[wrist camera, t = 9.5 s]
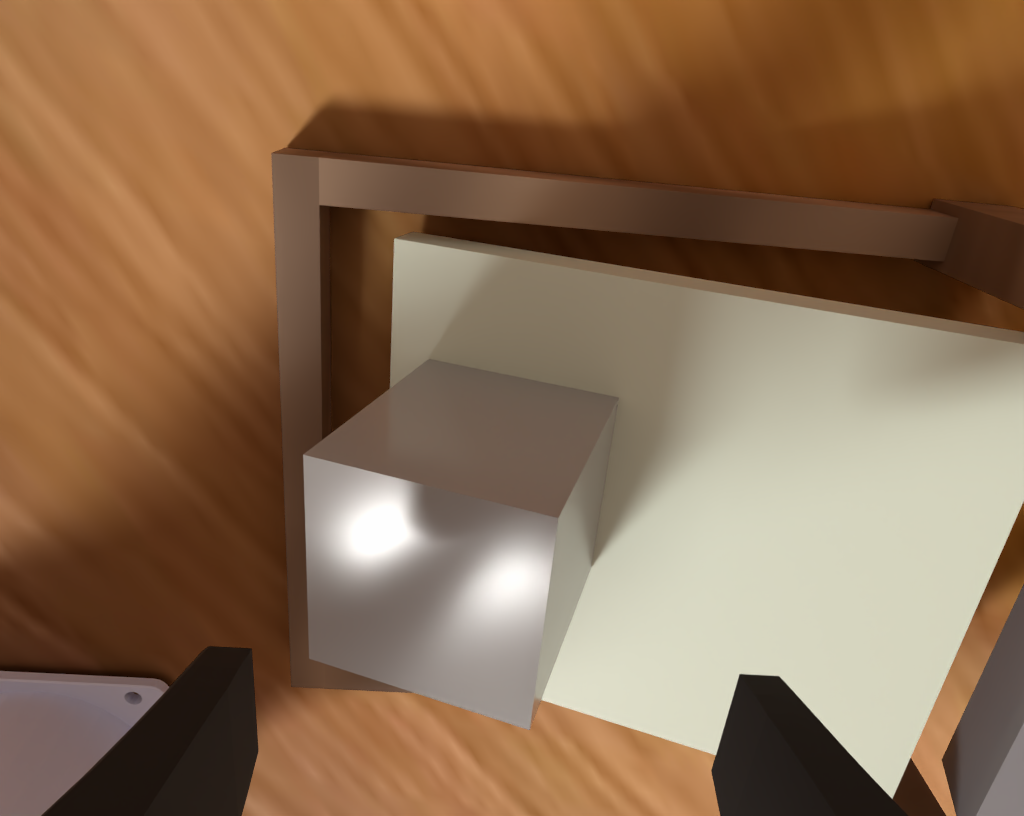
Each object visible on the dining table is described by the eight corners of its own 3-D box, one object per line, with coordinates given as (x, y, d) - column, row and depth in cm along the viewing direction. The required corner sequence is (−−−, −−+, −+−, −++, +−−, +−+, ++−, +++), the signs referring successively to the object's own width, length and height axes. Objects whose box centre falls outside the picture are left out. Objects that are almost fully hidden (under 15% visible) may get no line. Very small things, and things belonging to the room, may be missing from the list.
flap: (407, 613, 23) (370, 665, 21) (425, 227, 18) (379, 243, 16) (1155, 839, 18) (1206, 936, 16) (1456, 394, 13) (1584, 450, 11)
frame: (300, 663, 23) (227, 896, 17) (285, 135, 17) (155, 178, 10) (1011, 700, 25) (1198, 925, 18) (1246, 228, 18) (1663, 316, 12)
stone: (421, 522, 20) (309, 658, 15) (428, 358, 18) (303, 454, 13) (591, 567, 18) (529, 730, 14) (619, 397, 16) (558, 517, 12)
